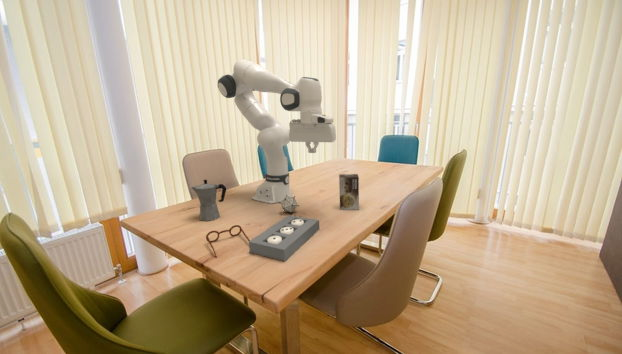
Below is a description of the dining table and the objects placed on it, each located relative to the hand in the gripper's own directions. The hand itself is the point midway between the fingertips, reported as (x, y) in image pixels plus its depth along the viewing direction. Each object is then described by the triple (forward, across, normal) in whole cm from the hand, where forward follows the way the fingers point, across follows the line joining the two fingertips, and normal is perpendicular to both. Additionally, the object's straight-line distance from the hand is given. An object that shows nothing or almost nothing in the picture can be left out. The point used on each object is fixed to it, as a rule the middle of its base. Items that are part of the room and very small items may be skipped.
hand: (312, 152), depth 113 cm
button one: (+29, 0, -31) cm, 42 cm away
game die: (+29, -14, +2) cm, 33 cm away
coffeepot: (+29, -44, -17) cm, 56 cm away
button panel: (+29, 0, -23) cm, 37 cm away
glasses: (+30, -18, -34) cm, 49 cm away
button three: (+28, 0, -23) cm, 37 cm away
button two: (+28, 0, -15) cm, 32 cm away
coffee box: (+29, +10, +18) cm, 36 cm away
